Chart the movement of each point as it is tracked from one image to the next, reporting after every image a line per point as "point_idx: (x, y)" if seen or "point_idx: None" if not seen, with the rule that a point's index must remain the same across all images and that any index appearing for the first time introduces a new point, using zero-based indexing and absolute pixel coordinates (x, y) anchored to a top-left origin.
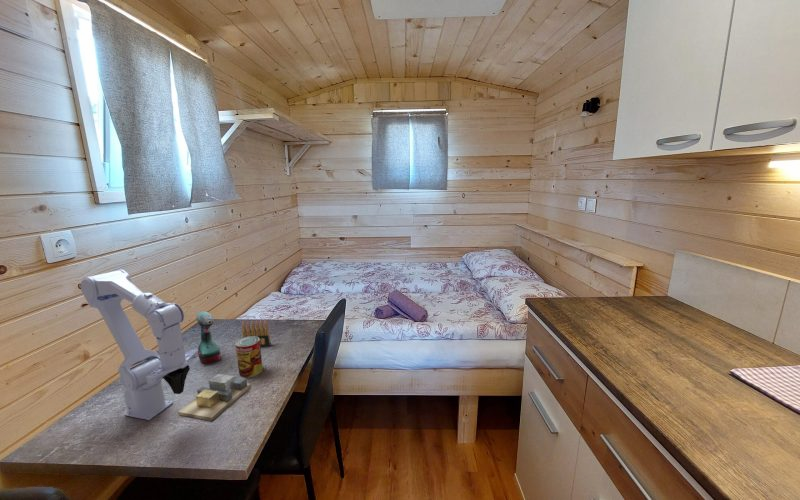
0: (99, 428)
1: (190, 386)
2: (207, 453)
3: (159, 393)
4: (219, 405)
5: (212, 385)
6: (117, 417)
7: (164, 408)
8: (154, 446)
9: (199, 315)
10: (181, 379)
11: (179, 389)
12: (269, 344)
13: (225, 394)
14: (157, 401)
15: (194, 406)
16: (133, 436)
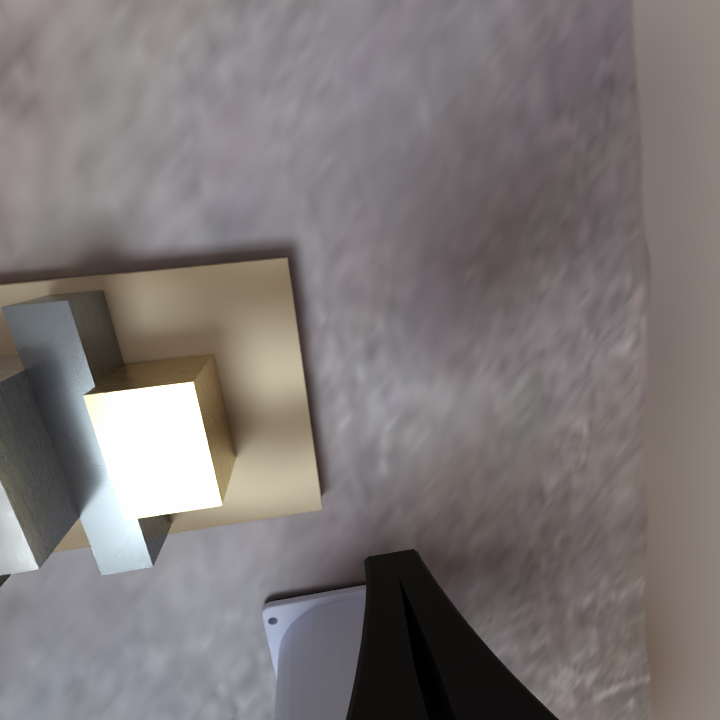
0: None
1: (110, 657)
2: (530, 11)
3: (331, 709)
4: (163, 318)
5: (54, 507)
6: None
7: (318, 596)
8: (537, 387)
9: None
10: None
11: (439, 588)
12: None
13: (68, 319)
14: (349, 657)
15: (247, 467)
16: (502, 536)
